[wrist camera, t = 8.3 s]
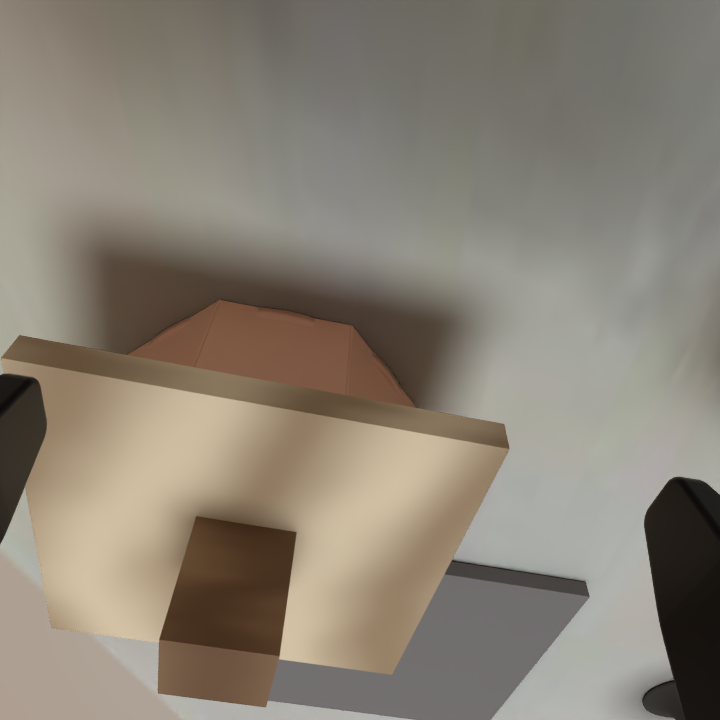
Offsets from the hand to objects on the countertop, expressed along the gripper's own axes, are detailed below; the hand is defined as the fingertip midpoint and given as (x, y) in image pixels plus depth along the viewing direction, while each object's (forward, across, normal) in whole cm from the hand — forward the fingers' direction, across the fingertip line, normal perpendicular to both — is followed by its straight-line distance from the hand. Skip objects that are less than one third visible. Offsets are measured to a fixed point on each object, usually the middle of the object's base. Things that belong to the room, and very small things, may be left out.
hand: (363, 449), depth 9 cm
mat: (+12, -6, +27) cm, 30 cm away
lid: (+7, +2, +12) cm, 14 cm away
